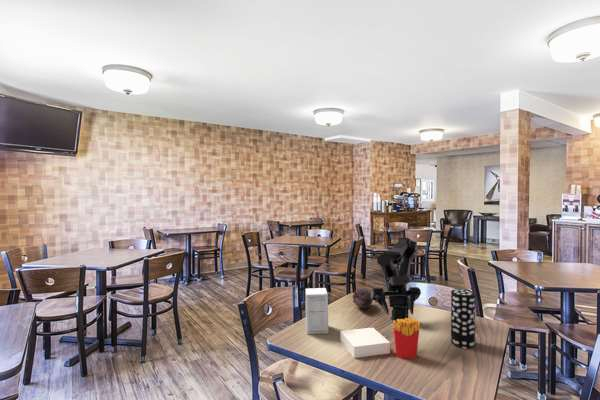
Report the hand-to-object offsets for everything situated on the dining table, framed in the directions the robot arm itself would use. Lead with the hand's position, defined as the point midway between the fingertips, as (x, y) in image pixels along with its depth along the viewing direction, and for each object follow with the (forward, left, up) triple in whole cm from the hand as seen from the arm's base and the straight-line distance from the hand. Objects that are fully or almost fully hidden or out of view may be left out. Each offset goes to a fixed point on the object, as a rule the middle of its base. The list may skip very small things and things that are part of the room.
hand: (400, 314), depth 125 cm
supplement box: (+26, -23, -13) cm, 37 cm away
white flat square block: (+13, -3, -12) cm, 19 cm away
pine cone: (-3, -43, -13) cm, 45 cm away
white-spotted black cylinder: (-25, +4, -13) cm, 28 cm away
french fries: (+1, +7, -13) cm, 14 cm away
